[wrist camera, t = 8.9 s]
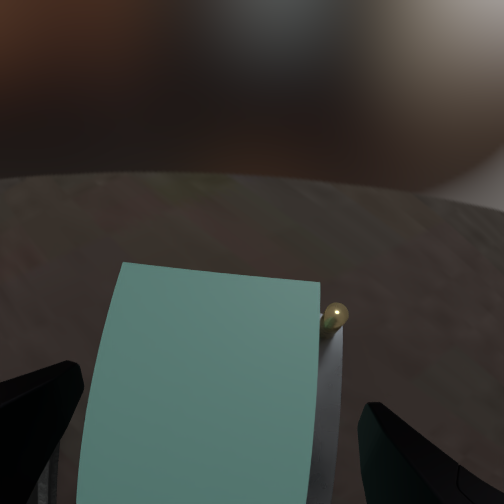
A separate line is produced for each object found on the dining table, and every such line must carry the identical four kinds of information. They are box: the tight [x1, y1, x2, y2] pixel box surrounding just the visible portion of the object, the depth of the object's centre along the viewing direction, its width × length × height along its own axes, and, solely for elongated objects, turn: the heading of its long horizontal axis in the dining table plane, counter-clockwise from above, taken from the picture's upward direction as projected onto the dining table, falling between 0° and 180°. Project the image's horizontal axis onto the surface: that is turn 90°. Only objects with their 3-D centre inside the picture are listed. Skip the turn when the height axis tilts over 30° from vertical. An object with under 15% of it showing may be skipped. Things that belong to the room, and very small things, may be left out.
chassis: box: [306, 303, 348, 504], centre depth 13 cm, size 15×12×4 cm
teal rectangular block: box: [76, 262, 320, 504], centre depth 9 cm, size 8×4×11 cm, turn 174°
